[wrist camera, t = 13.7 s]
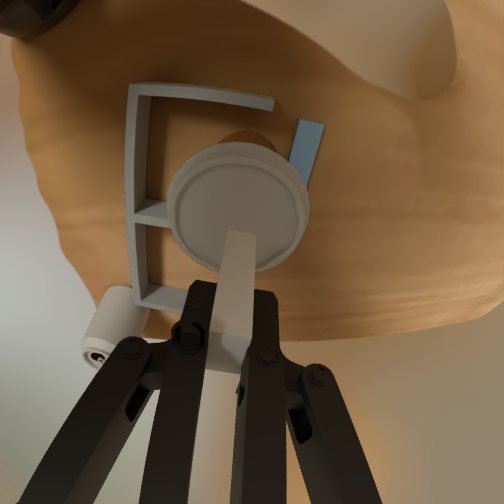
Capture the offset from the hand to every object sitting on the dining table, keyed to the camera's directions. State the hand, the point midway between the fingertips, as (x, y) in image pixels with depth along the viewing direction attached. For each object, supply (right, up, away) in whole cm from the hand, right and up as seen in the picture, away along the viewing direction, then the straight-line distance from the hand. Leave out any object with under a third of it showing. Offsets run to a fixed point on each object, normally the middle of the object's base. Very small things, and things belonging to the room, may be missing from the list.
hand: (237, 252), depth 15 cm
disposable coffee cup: (0, +9, +12) cm, 15 cm away
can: (-18, -7, +24) cm, 31 cm away
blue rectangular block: (+5, +8, +12) cm, 16 cm away
